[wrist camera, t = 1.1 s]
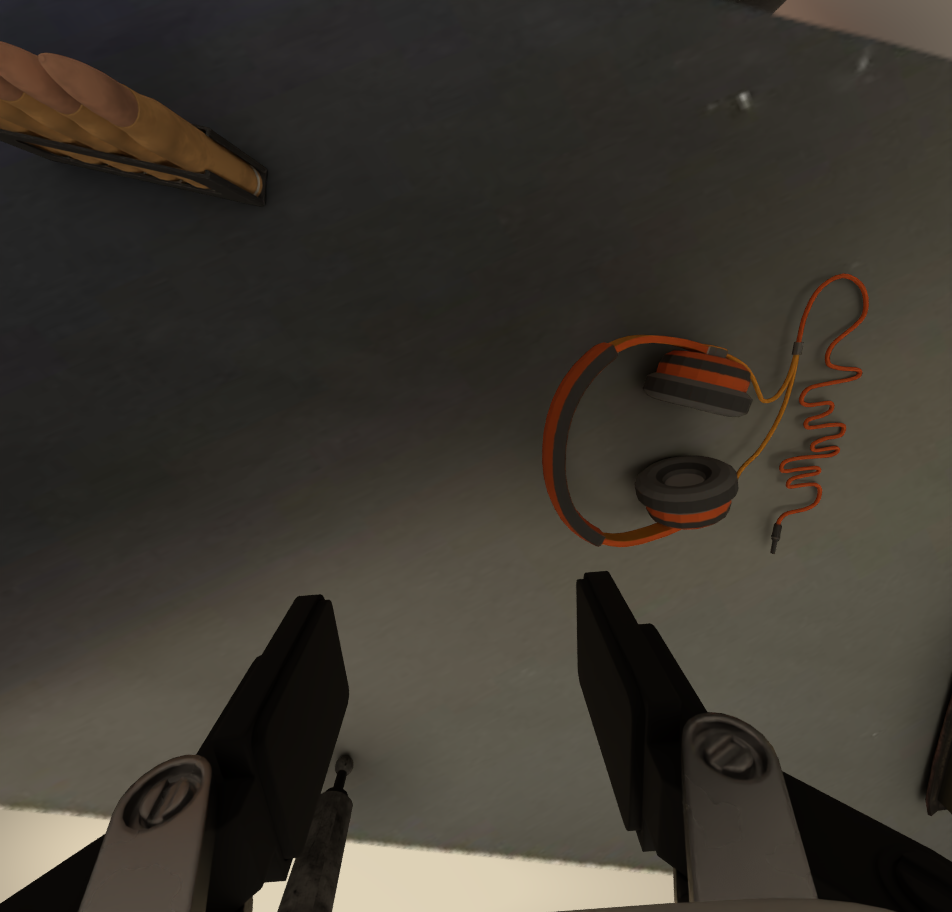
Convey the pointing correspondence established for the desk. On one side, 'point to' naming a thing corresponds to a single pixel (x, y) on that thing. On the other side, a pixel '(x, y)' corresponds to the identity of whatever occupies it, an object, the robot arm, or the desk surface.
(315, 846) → the microphone
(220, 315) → the desk surface
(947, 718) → the diary
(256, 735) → the robot arm
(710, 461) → the headphones
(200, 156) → the ammunition clip
